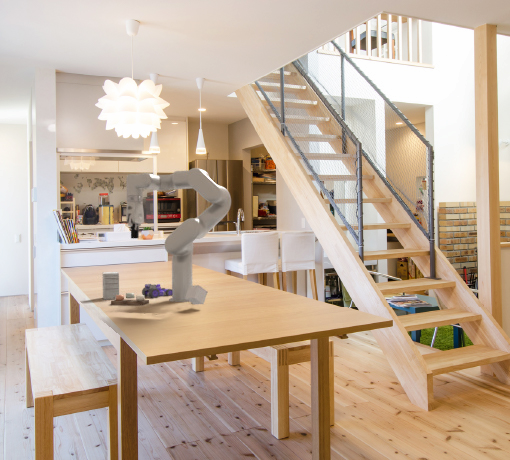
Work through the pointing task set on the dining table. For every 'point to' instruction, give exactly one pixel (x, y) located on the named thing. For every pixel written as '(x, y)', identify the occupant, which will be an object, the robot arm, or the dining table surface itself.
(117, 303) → the button plate
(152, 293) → the toy race car
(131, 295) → the sage button
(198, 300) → the gray cube
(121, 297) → the terracotta button
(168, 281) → the dining table surface
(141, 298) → the cream button
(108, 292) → the supplement box
